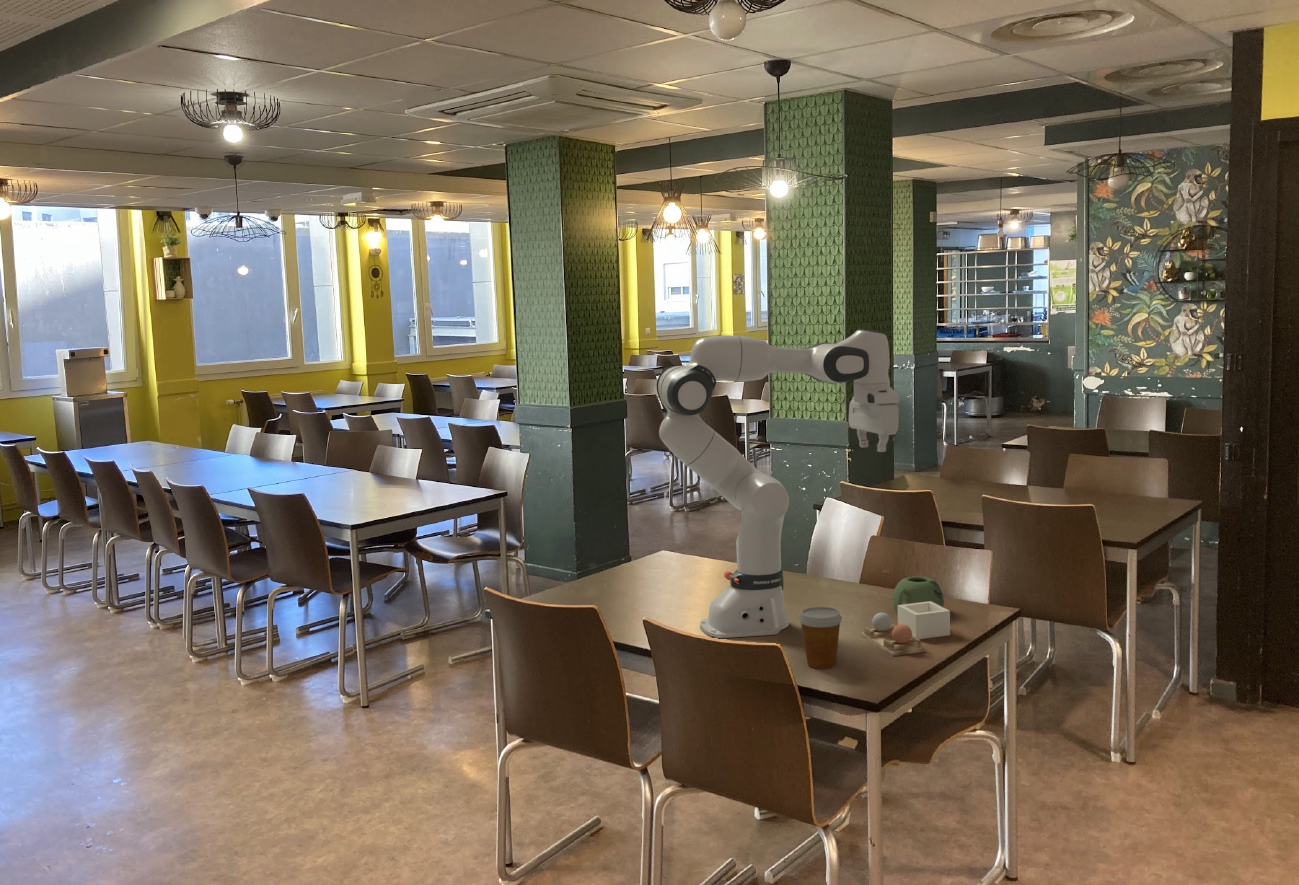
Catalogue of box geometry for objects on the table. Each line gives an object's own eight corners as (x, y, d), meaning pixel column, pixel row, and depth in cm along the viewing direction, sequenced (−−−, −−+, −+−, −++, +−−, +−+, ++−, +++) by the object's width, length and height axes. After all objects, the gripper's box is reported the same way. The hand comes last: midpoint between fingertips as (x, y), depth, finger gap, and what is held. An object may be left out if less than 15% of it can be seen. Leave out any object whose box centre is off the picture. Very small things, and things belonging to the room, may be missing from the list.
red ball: (898, 647, 242) (897, 628, 241) (888, 641, 246) (888, 622, 246) (915, 645, 243) (915, 625, 242) (906, 639, 247) (906, 620, 247)
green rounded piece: (908, 602, 283) (907, 570, 282) (953, 609, 274) (953, 577, 273) (877, 616, 271) (876, 583, 270) (923, 625, 263) (922, 591, 262)
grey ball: (877, 634, 251) (877, 616, 251) (869, 629, 256) (868, 611, 255) (895, 632, 252) (894, 614, 252) (886, 627, 257) (885, 609, 256)
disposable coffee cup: (803, 656, 243) (802, 605, 242) (845, 658, 241) (844, 607, 239) (797, 670, 234) (795, 617, 233) (840, 672, 232) (839, 619, 230)
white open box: (916, 639, 252) (915, 615, 251) (897, 629, 260) (897, 605, 259) (950, 635, 254) (949, 610, 253) (930, 624, 262) (930, 601, 262)
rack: (892, 656, 241) (892, 645, 240) (861, 635, 256) (861, 626, 256) (924, 651, 243) (924, 641, 242) (891, 631, 258) (891, 622, 258)
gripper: (842, 392, 274) (843, 445, 276) (879, 398, 254) (880, 455, 256) (864, 391, 275) (865, 444, 277) (903, 396, 256) (903, 453, 258)
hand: (872, 449), depth 266 cm, fingers open, 8 cm apart
